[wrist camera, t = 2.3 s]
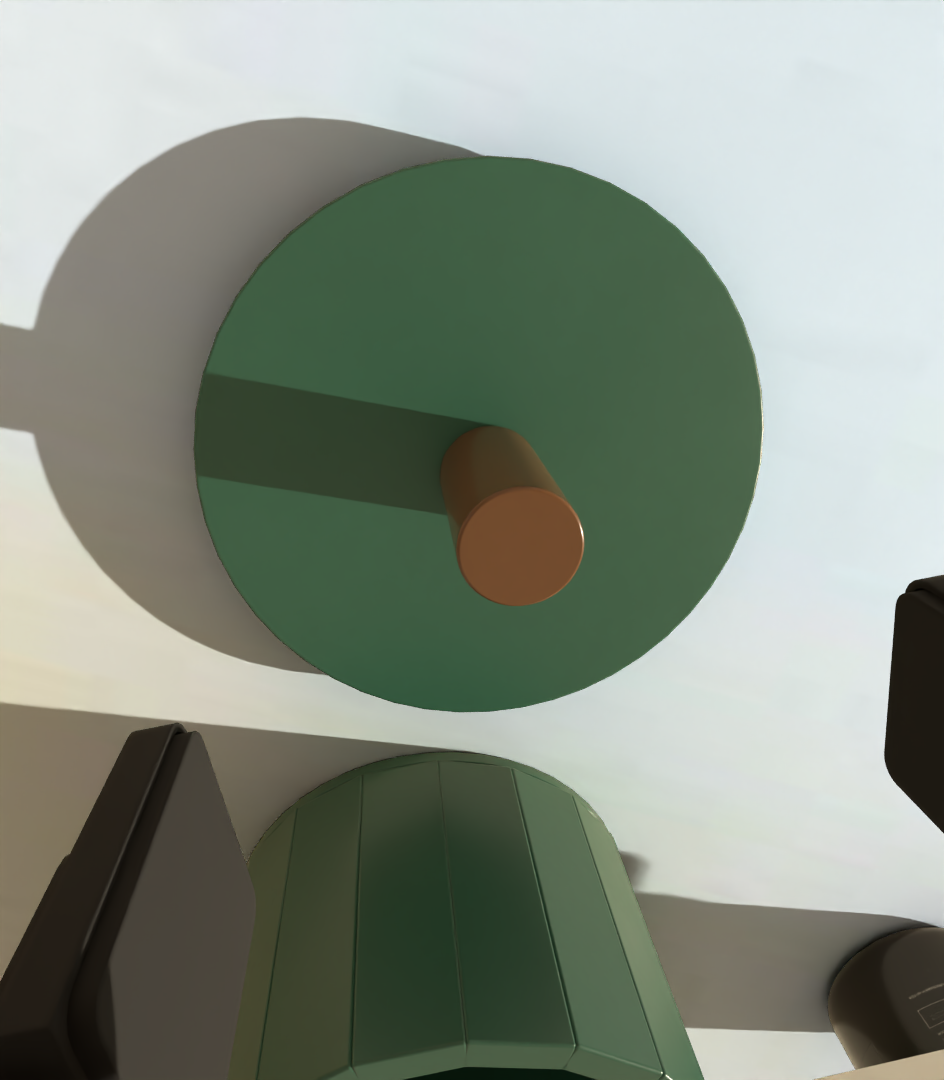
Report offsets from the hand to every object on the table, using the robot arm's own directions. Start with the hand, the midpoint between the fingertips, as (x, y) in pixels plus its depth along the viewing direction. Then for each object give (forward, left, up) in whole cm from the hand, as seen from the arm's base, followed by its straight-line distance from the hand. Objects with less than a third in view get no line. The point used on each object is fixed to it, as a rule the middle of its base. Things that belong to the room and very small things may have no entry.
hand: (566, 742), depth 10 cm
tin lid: (0, 0, -11) cm, 11 cm away
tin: (+16, -4, -12) cm, 20 cm away
